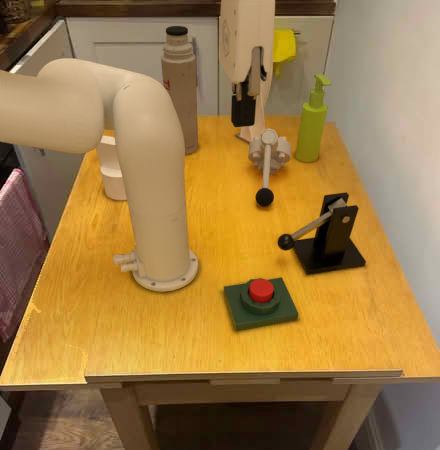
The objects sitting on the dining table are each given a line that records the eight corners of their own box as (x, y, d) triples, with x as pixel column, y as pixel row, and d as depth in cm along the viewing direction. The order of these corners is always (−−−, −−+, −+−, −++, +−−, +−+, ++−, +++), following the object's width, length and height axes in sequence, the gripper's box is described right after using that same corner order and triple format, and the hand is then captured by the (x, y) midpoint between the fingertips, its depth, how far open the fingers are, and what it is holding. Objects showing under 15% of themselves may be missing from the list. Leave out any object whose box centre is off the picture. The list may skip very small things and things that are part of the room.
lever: (284, 256, 77) (277, 247, 74) (279, 245, 79) (272, 236, 77) (352, 216, 73) (347, 205, 71) (345, 206, 75) (339, 194, 73)
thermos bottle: (172, 156, 107) (162, 34, 86) (166, 142, 112) (155, 24, 91) (201, 152, 109) (198, 31, 88) (194, 138, 114) (189, 21, 93)
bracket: (306, 275, 78) (319, 221, 68) (290, 245, 83) (300, 191, 74) (364, 266, 79) (384, 212, 70) (345, 237, 85) (361, 183, 76)
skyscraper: (274, 139, 114) (287, 22, 93) (253, 148, 110) (262, 29, 90) (253, 128, 118) (261, 14, 97) (232, 137, 115) (236, 21, 94)
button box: (235, 331, 68) (236, 318, 66) (223, 292, 74) (223, 279, 72) (297, 320, 70) (300, 306, 68) (280, 283, 76) (283, 269, 73)
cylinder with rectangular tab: (97, 195, 95) (85, 147, 86) (116, 176, 100) (107, 128, 92) (132, 203, 93) (124, 154, 84) (149, 182, 99) (143, 135, 90)
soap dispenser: (302, 165, 104) (316, 83, 90) (291, 152, 109) (303, 72, 94) (323, 162, 106) (340, 80, 91) (312, 149, 110) (326, 69, 95)
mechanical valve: (291, 150, 104) (292, 123, 89) (286, 220, 103) (287, 204, 88) (250, 150, 105) (245, 124, 90) (246, 218, 105) (240, 203, 90)
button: (252, 304, 68) (253, 297, 67) (246, 287, 71) (247, 280, 70) (275, 300, 69) (276, 293, 68) (268, 284, 72) (269, 277, 70)
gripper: (205, -42, 51) (207, 105, 65) (234, -16, 42) (230, 151, 55) (262, -44, 53) (253, 101, 66) (303, -19, 43) (282, 145, 56)
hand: (242, 123), depth 61 cm, fingers closed
